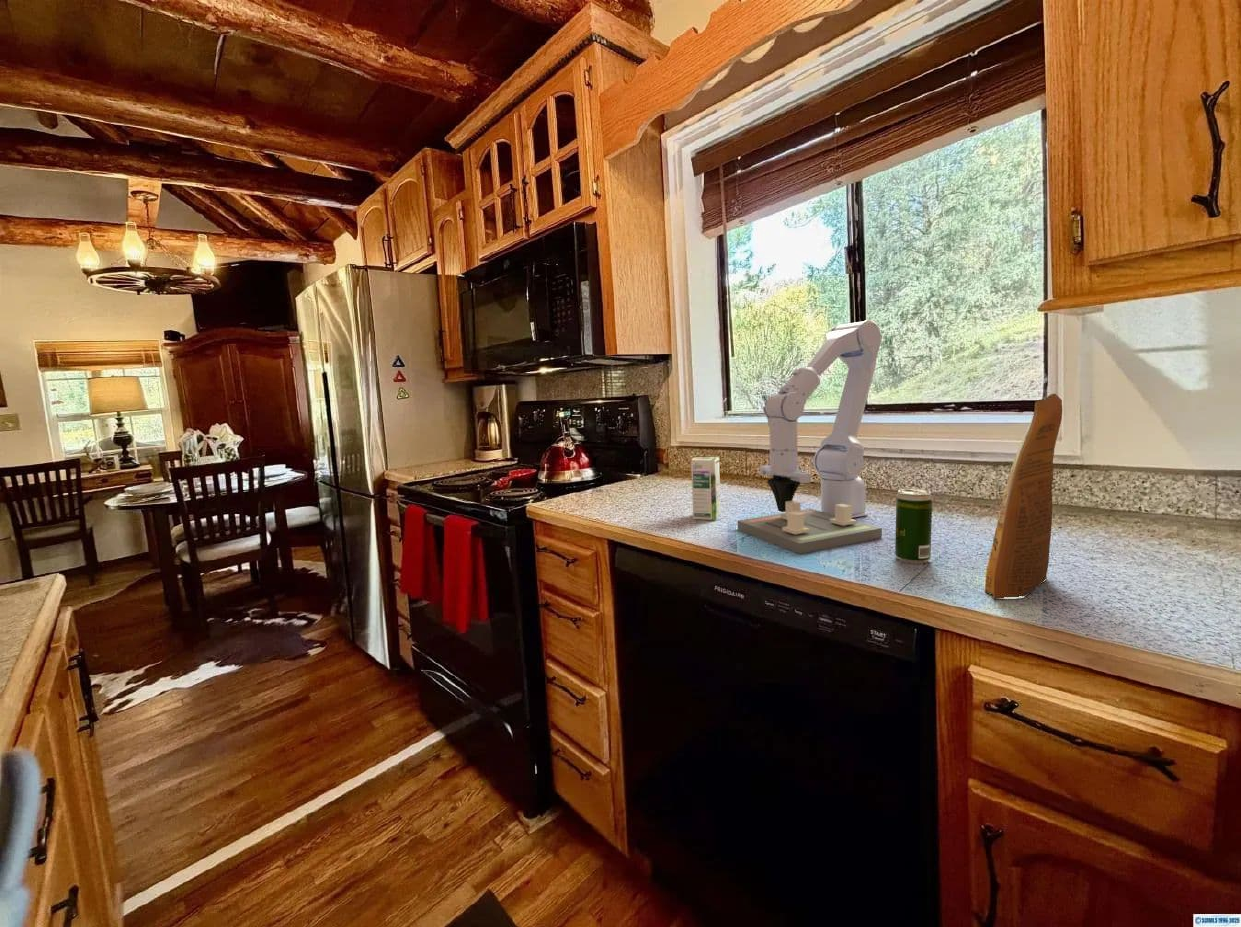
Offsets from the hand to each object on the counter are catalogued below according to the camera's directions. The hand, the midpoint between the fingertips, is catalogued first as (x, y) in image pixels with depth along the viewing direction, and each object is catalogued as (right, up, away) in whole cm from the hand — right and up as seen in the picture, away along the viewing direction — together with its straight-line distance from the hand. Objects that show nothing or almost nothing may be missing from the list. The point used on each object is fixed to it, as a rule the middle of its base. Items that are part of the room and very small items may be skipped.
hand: (784, 510), depth 118 cm
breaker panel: (+3, -4, -6) cm, 8 cm away
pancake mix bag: (+23, -8, -38) cm, 46 cm away
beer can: (+15, -6, -25) cm, 30 cm away
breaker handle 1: (-1, -3, -12) cm, 13 cm away
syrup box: (-15, -3, +12) cm, 19 cm away
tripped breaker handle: (+1, -1, -3) cm, 3 cm away
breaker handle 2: (+10, -2, -8) cm, 13 cm away
